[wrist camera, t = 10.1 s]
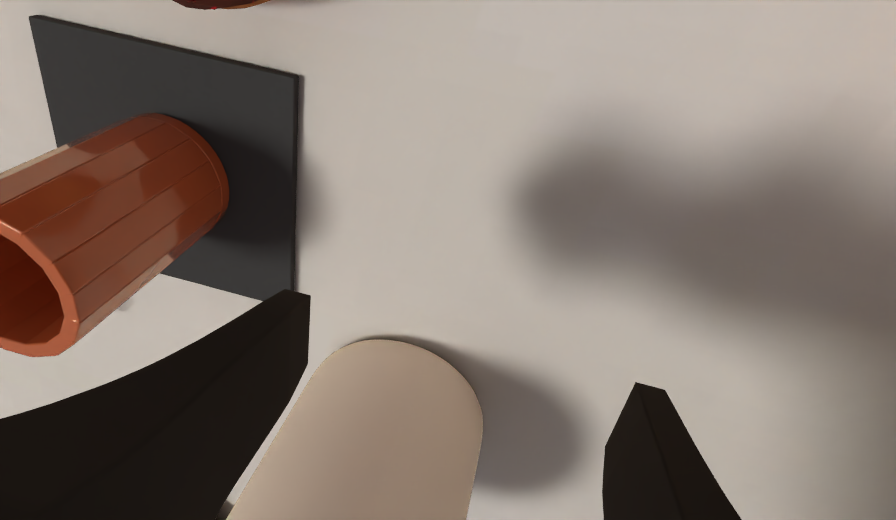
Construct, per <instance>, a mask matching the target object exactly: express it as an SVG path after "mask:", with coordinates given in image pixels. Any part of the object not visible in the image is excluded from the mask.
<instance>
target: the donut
mask: <svg viewBox="0 0 896 520" xmlns="http://www.w3.org/2000/svg"><path fill="white" fill-rule="evenodd" d="M173 1H175V2H177V3H179V4H181V5H183V6H185V7H188V8H196V9H204V10H206V9H214V10H215V9H217V8H223V9H237V8H247V7H251V6H255V5H258V4H261V3H264V2H267V1H270V0H173Z"/></svg>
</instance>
